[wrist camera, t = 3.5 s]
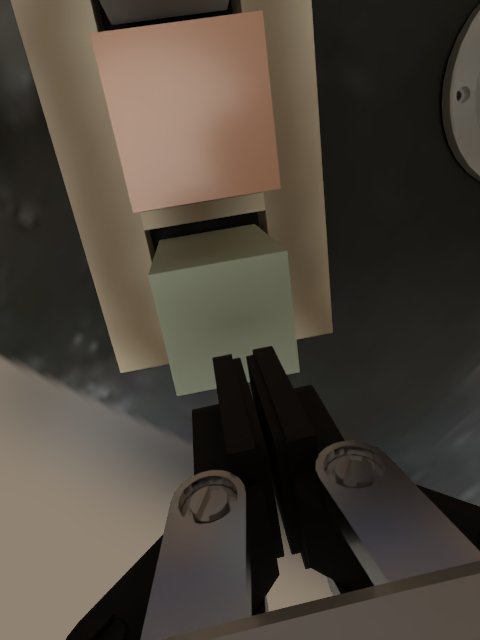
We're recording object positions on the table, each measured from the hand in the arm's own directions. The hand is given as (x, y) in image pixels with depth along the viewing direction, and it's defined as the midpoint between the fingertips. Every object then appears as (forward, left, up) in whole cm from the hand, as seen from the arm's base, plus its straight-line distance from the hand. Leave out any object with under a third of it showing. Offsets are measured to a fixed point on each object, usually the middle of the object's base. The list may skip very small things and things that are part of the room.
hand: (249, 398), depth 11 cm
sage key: (0, 0, -14) cm, 14 cm away
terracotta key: (0, -8, -14) cm, 16 cm away
